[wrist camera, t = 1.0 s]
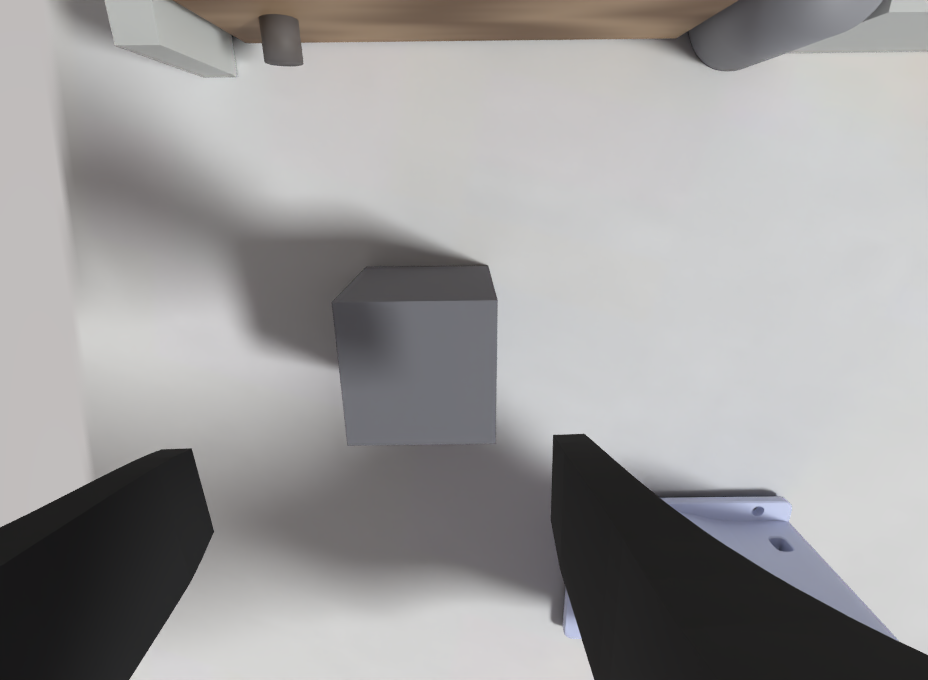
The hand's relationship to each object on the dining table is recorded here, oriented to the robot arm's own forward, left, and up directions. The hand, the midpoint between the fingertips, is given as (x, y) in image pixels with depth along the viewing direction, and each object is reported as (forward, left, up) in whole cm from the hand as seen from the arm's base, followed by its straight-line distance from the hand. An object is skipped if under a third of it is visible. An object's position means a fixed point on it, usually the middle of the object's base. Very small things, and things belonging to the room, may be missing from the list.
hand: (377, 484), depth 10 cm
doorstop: (0, 0, -10) cm, 10 cm away
